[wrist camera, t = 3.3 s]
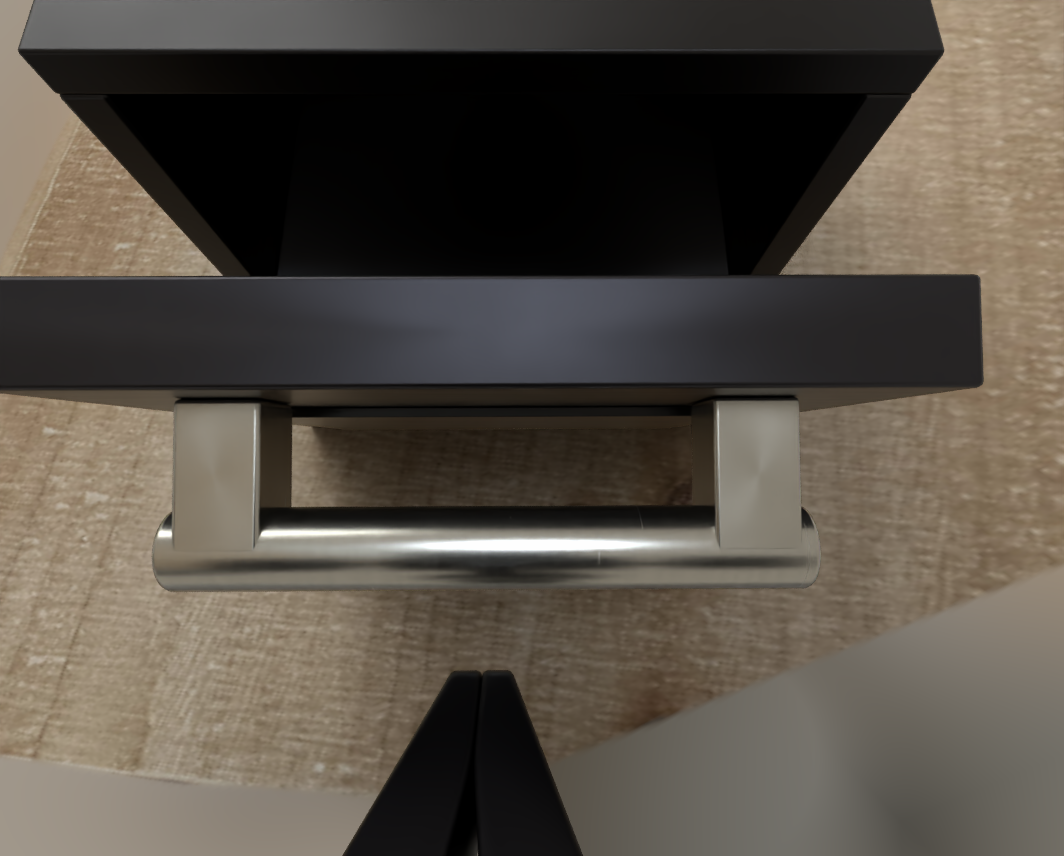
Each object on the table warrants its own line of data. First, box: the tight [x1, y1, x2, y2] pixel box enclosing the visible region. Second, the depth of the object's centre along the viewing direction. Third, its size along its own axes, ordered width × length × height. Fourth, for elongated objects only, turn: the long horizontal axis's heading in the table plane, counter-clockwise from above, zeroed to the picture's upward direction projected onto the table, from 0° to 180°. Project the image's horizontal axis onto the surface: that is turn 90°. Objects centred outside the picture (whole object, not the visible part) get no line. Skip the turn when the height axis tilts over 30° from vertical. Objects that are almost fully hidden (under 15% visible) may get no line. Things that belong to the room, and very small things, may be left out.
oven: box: [18, 0, 944, 276], centre depth 17 cm, size 15×14×13 cm
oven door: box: [0, 274, 984, 592], centre depth 14 cm, size 5×14×13 cm, turn 90°
